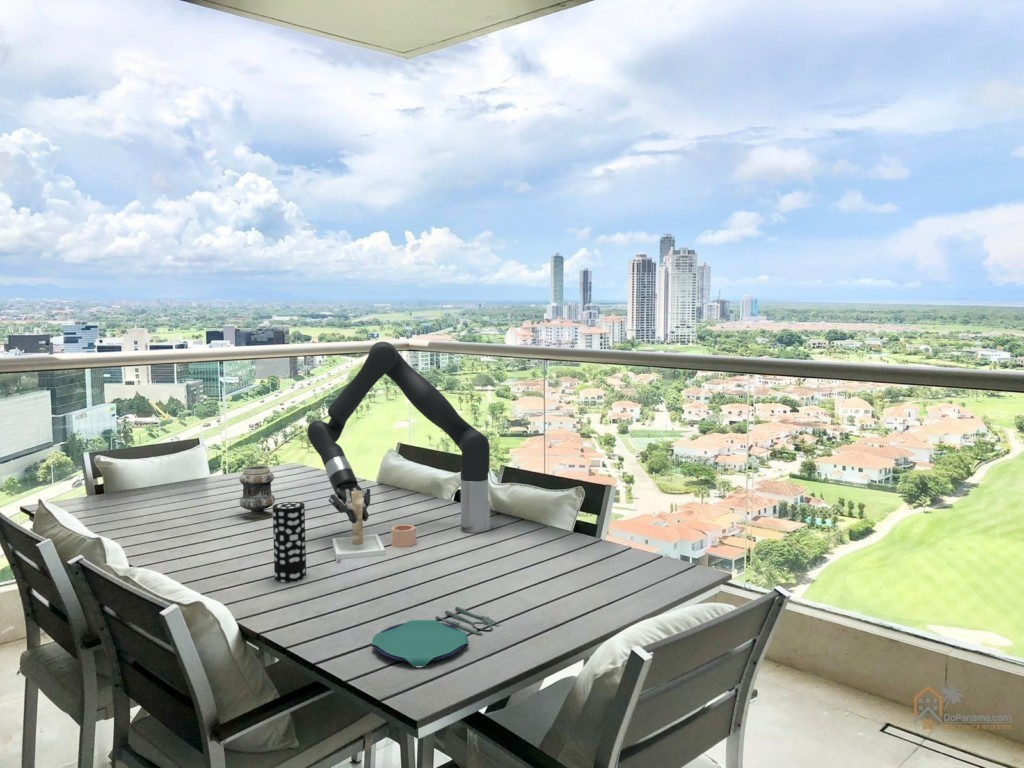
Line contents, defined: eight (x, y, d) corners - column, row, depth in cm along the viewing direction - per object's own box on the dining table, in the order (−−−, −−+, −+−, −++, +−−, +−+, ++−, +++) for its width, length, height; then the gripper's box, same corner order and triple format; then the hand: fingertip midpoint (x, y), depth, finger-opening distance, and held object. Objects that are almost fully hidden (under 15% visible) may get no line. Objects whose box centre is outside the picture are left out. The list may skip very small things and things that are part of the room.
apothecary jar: (275, 511, 273) (273, 463, 272) (275, 519, 262) (274, 469, 261) (240, 513, 270) (239, 465, 268) (239, 522, 258) (237, 471, 257)
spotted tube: (297, 583, 197) (295, 510, 196) (268, 581, 199) (266, 508, 197) (311, 573, 206) (309, 502, 204) (284, 571, 207) (282, 501, 206)
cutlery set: (354, 649, 158) (354, 638, 158) (453, 609, 181) (453, 600, 181) (417, 679, 145) (417, 667, 145) (515, 632, 168) (515, 623, 168)
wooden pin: (362, 541, 226) (361, 490, 225) (363, 544, 223) (362, 492, 222) (351, 542, 225) (350, 490, 224) (352, 545, 222) (352, 493, 221)
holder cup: (413, 542, 234) (413, 523, 234) (417, 549, 227) (417, 530, 227) (389, 544, 232) (389, 525, 232) (393, 551, 225) (392, 532, 224)
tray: (377, 542, 235) (377, 534, 235) (385, 558, 219) (385, 549, 218) (332, 546, 231) (332, 538, 230) (336, 562, 214) (336, 554, 214)
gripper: (323, 470, 224) (343, 518, 215) (364, 464, 233) (385, 510, 225) (316, 484, 228) (335, 532, 220) (356, 478, 237) (376, 523, 229)
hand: (360, 520), depth 222 cm, fingers closed on wooden pin, 3 cm apart
